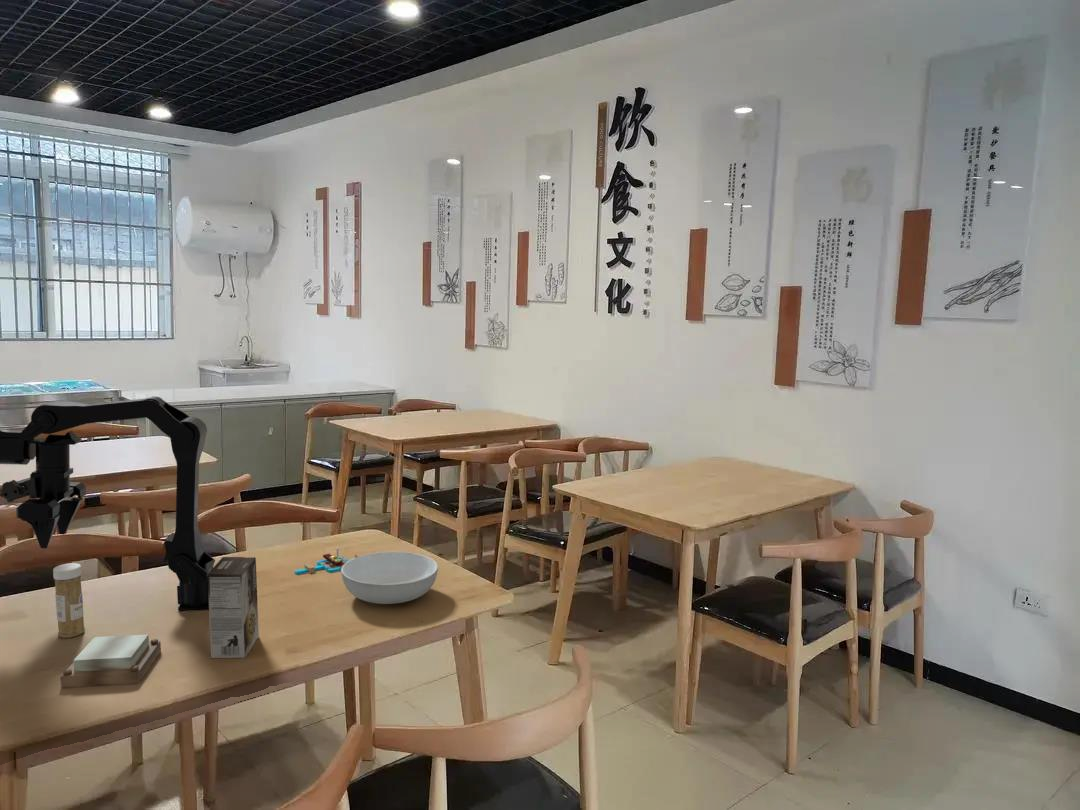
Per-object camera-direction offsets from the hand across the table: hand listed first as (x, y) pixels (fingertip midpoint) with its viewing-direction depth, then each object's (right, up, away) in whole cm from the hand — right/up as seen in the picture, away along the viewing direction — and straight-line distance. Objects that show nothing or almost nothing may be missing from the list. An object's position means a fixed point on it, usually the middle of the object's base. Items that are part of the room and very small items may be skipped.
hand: (53, 540), depth 156 cm
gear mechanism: (+48, -12, +34) cm, 60 cm away
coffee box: (+41, -18, -12) cm, 47 cm away
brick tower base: (+24, -19, -21) cm, 37 cm away
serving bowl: (+65, -15, +15) cm, 68 cm away
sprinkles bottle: (+8, -17, -7) cm, 20 cm away
